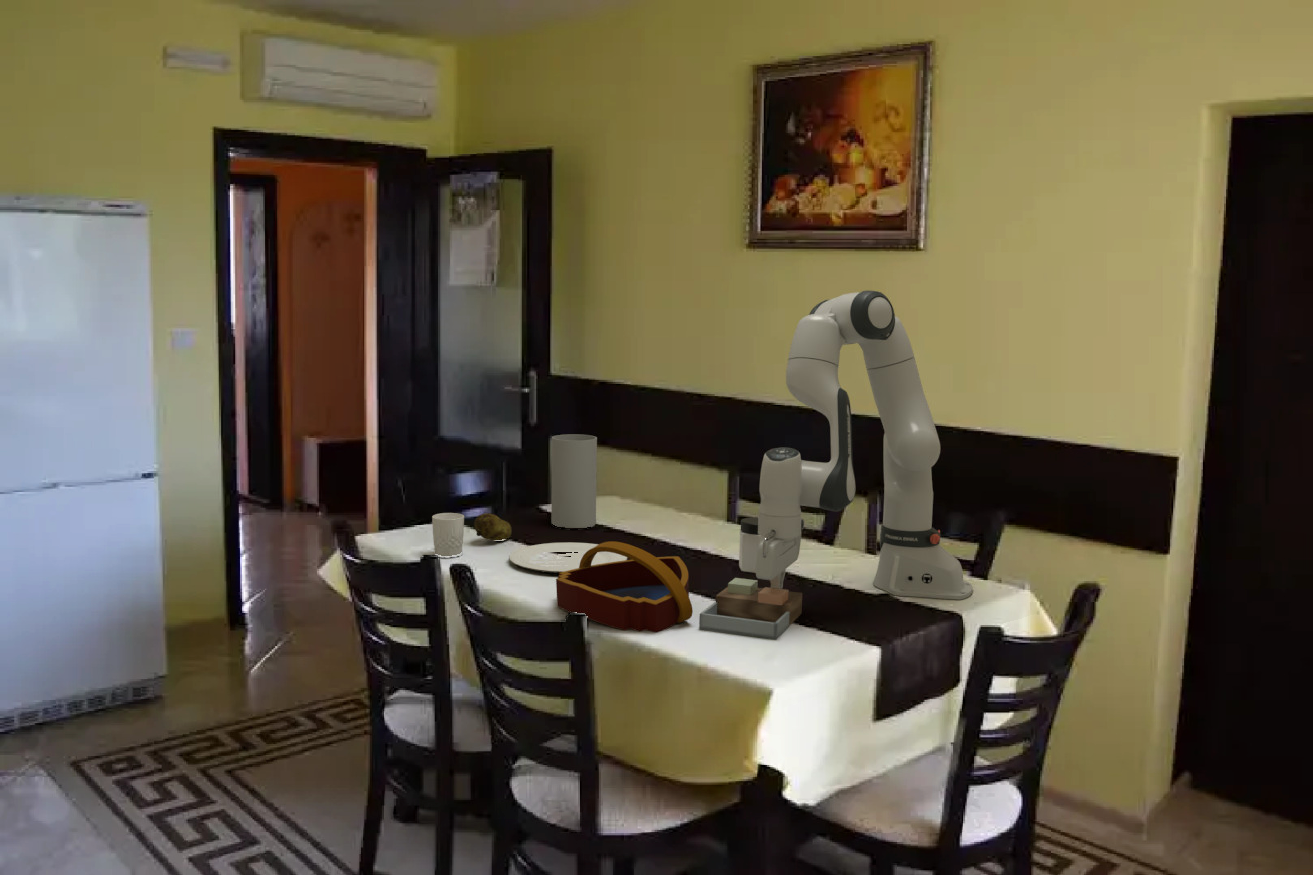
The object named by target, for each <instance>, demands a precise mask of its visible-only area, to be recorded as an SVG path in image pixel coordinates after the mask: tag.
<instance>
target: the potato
mask: <svg viewBox="0 0 1313 875" xmlns="http://www.w3.org/2000/svg"><path fill="white" fill-rule="evenodd" d="M474 529H475V530H474V531H475V532H476V536H477V537H481V538H484V539H486V540H489V541H492V540H502V539H507V538H508V539H509V538H510V537H511V535H512V526H511V524H510V522H508V521H506V520H504V519H501V518H500V517H499V516H497V515H496V514H493V513H486V512H485V513H482V514H480V515H478V516H476V517H475V520H474ZM508 539H507V540H508Z"/></svg>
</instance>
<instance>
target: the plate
mask: <svg viewBox="0 0 1313 875" xmlns="http://www.w3.org/2000/svg"><path fill="white" fill-rule="evenodd" d="M599 544H600V543H599ZM599 544H598V543H588V542H549V543H548V542H546V543H541V544H540V543H539V544H534V545H527V546H525V547H521V548H518V549H516V550H514V551H512V552H511V553H510V555H508V557H509V561H510V562H511V563H512V564H514V565H516V566H518V567H521V568H524V569H528V570H532V571H537V572H542V571H544V572H543V573H550V572H552V574H559V573H560V572H564V571H568V570H573V569H577V568H579V565H580V561H581V559H582V557H583V555H584V554H585V553H586V552H587V551H588V550H590V549H592V548H593V547H595V546H597V545H599ZM541 552H572V553H566V554H558V555H556V556H571V557H565V558H561V559H558V560H556V559H553V560H547V561H566V562H560V563H558V562H556V564H555V563H548V564H546V563H539V564H538V563H536V564H533V563H530V562H529V561H530V556H535V555H536V554H539V553H541ZM574 552H578V553H574ZM553 556H554V555H553ZM628 559H629V558H628V557H625V556H622V555H619V554H616V553H612V552H597V554H596V555H595V556H594V558H593V560H592V563H591V566H592V565H597V564H603V563H610V562H617V561H624V560H628ZM531 561H545V560H531ZM540 565H561V566H553V567H552V566H548V567H546V566H540ZM565 565H568V566H565Z"/></svg>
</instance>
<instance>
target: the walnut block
mask: <svg viewBox="0 0 1313 875" xmlns="http://www.w3.org/2000/svg"><path fill="white" fill-rule="evenodd" d="M764 588H765V587H758V588H757V590H756V591H755V592H754V593H753V594H751V595H744V594H736V593H728V586H727V587H725V588H724V589H723V590H721V591H720V592H719V593H718V594H716V595H715V602H717V615H724V616H732V617H739V618H747V619H754V620H762V621H770V622H776V621H777V620H778V619H779V618H780V617H781V616H782V615H783V614H785V613H786V612H789V627H790V626H791V625H792V624H794V622H795V621H796V620H797V619H798V618H799V617H800V616H801V615H802V612H803V611H802V610H803V608H802V607H803V592H797V591H789V590H788V600H787V601H786V602H785V603H783V604H782V605H774V604H766V603H759V602H758V593H759V592H760V591H761V590H763V589H764Z"/></svg>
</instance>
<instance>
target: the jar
mask: <svg viewBox="0 0 1313 875" xmlns="http://www.w3.org/2000/svg"><path fill="white" fill-rule="evenodd" d="M762 540H764V536H761V535H759V534H758V517H746V518H742V519H741V520H740V529H739V549H738V550H739V555H738V557H739V559H738V567H739V569H740V571H741V572H746V573H754V574H756V560H757V551H758V546H759V543H760V542H761V541H762Z"/></svg>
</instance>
